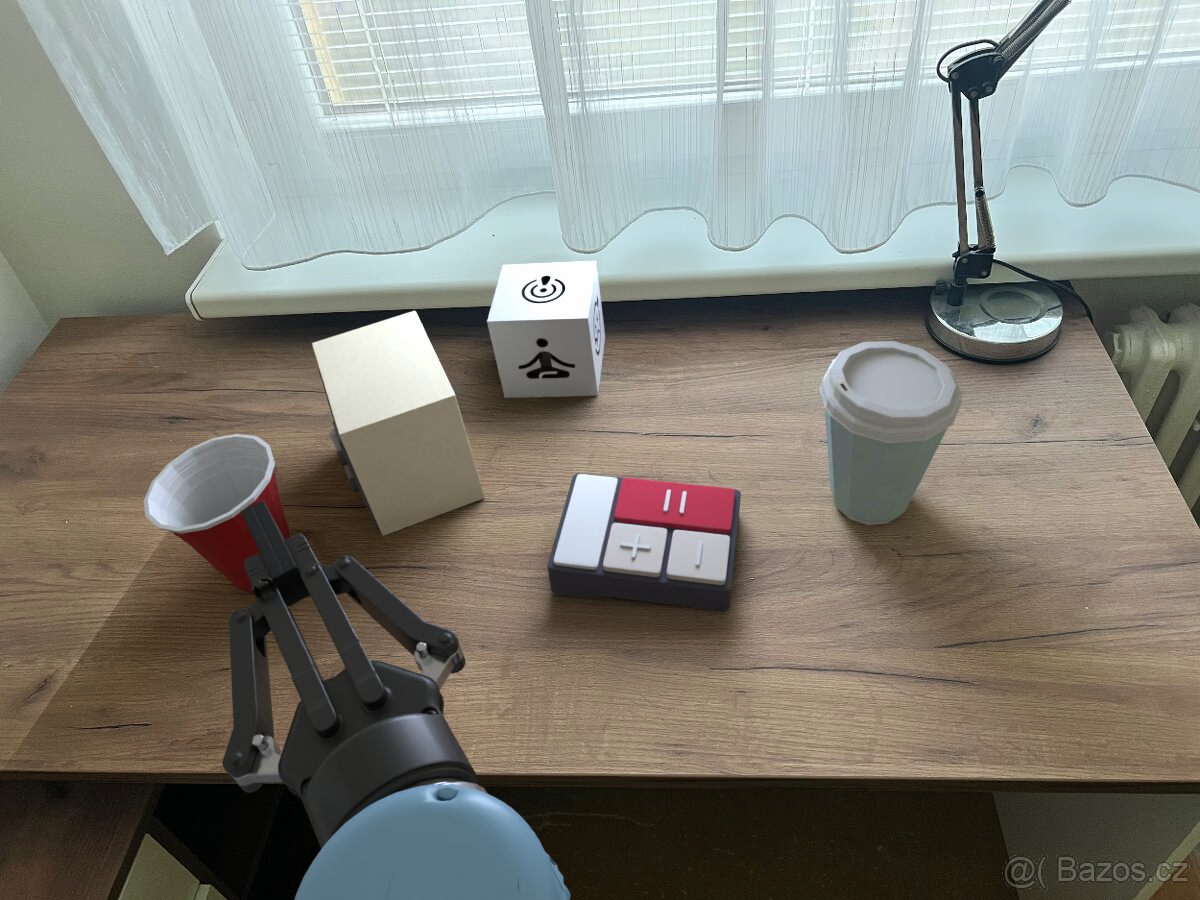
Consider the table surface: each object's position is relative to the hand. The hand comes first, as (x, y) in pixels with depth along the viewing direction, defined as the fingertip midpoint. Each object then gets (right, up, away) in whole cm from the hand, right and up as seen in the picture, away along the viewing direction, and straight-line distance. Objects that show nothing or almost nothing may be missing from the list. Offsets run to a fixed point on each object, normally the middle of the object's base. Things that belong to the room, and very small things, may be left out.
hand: (259, 519), depth 55 cm
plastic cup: (-9, -6, +24) cm, 27 cm away
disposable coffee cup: (+46, 0, +23) cm, 51 cm away
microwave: (+3, +2, +31) cm, 31 cm away
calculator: (+26, -5, +21) cm, 34 cm away
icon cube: (+17, +13, +41) cm, 46 cm away
